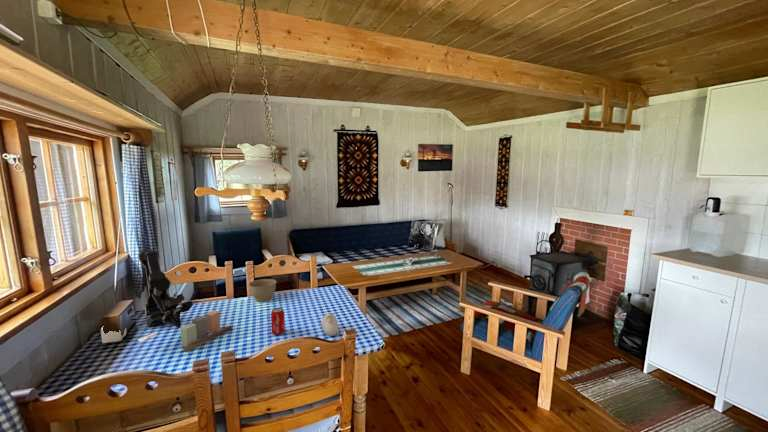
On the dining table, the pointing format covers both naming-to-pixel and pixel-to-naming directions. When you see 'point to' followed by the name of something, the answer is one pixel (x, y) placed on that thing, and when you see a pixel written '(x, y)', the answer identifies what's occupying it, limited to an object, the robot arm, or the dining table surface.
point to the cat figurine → (330, 324)
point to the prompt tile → (146, 337)
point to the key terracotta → (213, 321)
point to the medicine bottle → (112, 336)
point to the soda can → (277, 321)
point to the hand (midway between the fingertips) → (179, 327)
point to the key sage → (188, 334)
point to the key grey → (200, 326)
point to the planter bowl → (262, 289)
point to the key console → (207, 338)
